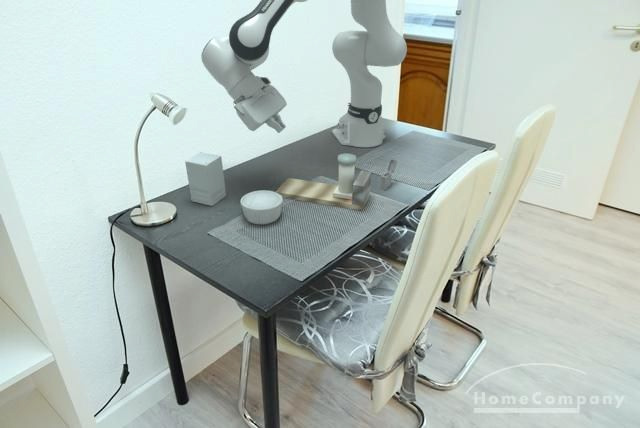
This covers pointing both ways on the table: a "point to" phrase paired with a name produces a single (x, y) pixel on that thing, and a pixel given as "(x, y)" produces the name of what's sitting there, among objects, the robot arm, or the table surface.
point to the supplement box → (206, 178)
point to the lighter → (388, 175)
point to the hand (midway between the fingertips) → (282, 130)
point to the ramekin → (262, 206)
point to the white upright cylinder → (345, 176)
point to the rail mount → (328, 192)
